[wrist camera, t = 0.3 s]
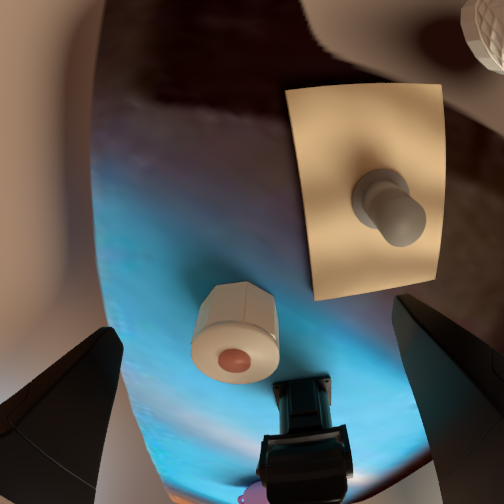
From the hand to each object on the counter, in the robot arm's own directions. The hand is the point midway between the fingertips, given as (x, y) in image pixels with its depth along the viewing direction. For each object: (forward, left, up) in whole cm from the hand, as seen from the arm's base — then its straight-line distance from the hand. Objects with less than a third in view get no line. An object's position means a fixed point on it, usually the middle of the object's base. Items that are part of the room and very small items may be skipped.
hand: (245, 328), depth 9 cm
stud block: (-2, -8, -14) cm, 16 cm away
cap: (-11, +4, -14) cm, 18 cm away
